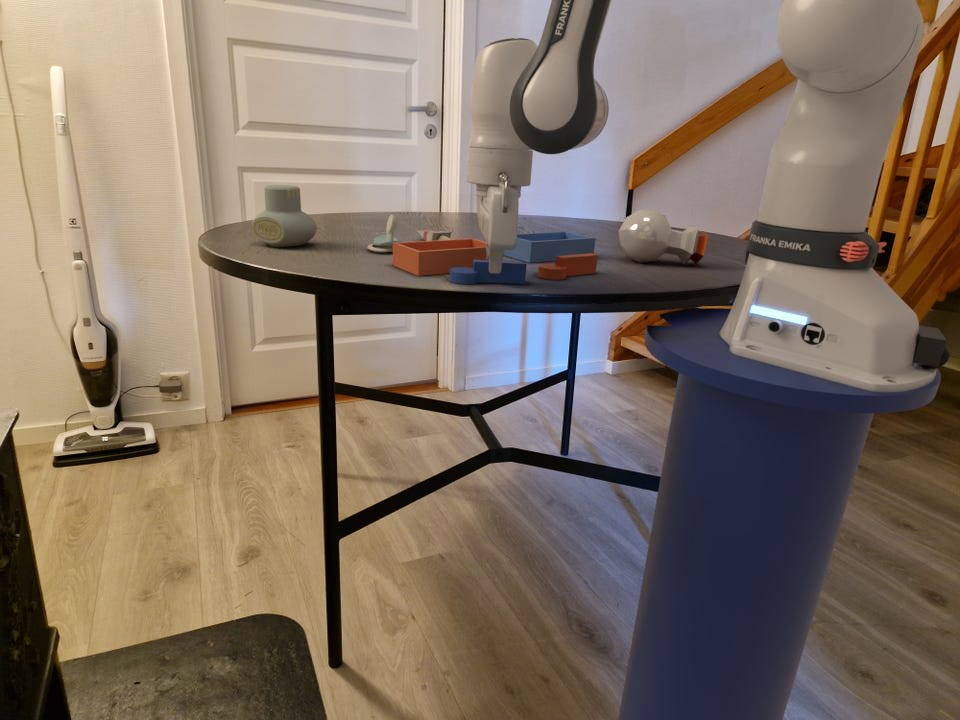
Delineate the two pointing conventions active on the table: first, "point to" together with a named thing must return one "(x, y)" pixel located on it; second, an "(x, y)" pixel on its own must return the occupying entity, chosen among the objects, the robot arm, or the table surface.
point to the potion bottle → (659, 238)
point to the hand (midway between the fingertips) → (493, 270)
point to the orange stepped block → (569, 266)
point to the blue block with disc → (479, 273)
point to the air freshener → (283, 218)
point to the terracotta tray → (437, 255)
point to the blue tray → (550, 246)
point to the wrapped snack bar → (434, 235)
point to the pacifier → (386, 238)
